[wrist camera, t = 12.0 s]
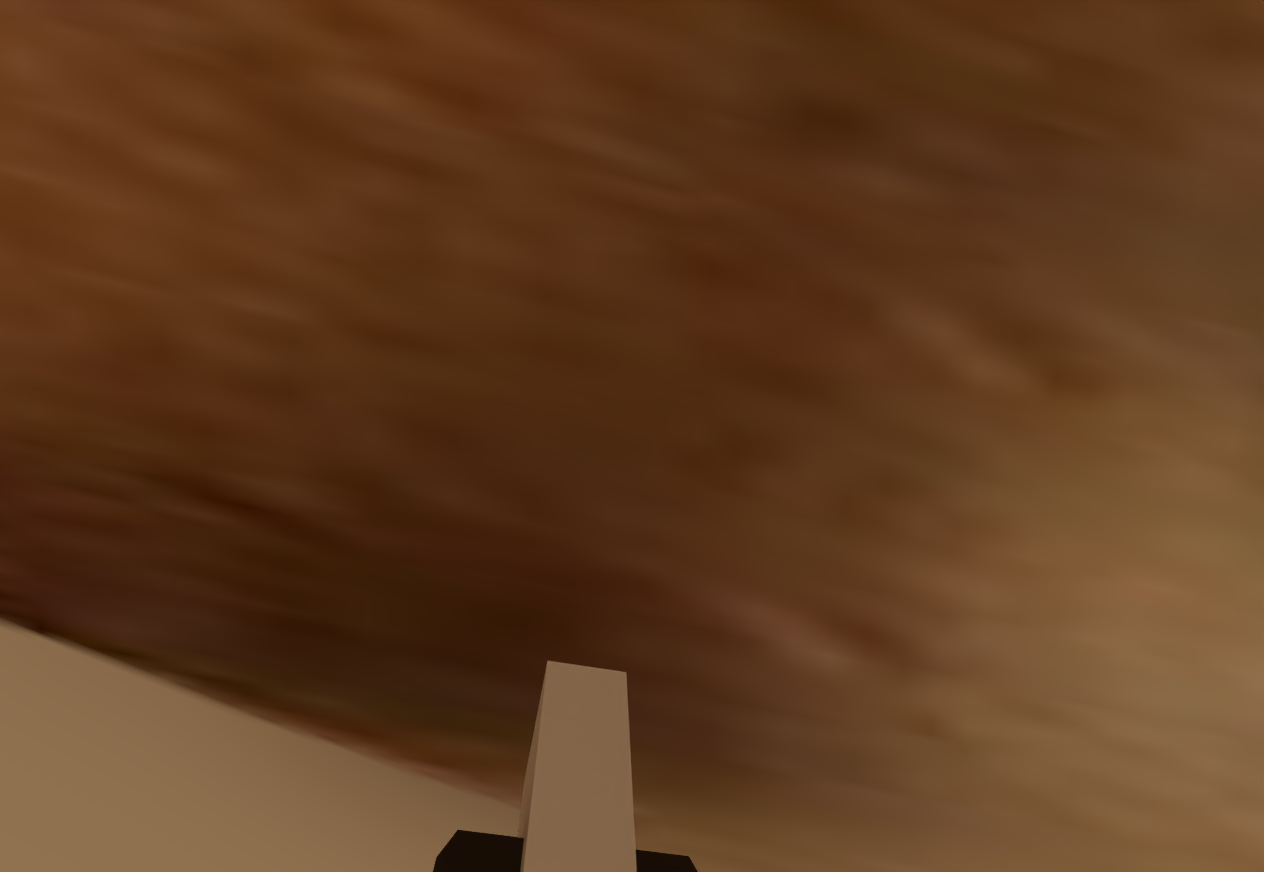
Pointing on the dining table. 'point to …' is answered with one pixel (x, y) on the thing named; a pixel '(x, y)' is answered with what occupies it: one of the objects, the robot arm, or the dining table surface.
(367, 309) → the dining table surface
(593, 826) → the robot arm
